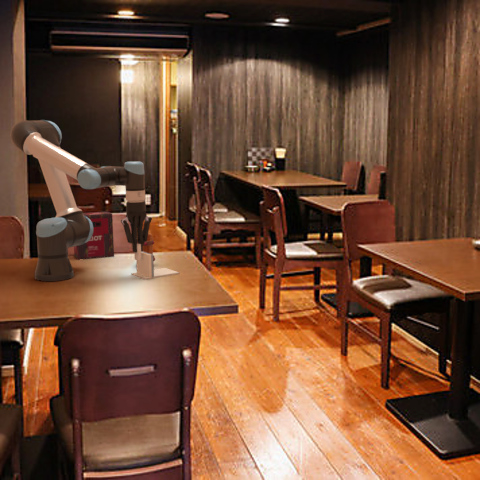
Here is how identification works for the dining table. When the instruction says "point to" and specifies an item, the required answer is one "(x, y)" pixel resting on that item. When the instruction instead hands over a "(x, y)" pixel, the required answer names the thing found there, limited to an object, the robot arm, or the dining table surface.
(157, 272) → the mat
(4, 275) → the dining table surface
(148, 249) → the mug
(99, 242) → the box
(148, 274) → the tile
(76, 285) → the dining table surface
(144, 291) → the dining table surface
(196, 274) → the dining table surface
